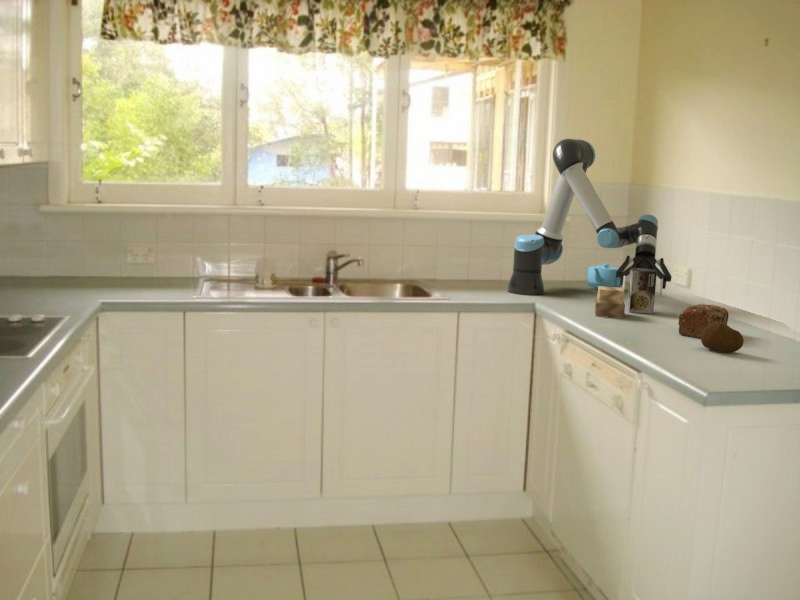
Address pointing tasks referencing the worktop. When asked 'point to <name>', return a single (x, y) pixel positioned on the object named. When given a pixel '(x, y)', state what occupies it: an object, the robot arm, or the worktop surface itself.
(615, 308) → the tower base
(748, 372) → the worktop surface
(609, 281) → the teapot
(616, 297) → the tower top
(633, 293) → the coffee box
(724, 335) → the potato
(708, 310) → the bread
